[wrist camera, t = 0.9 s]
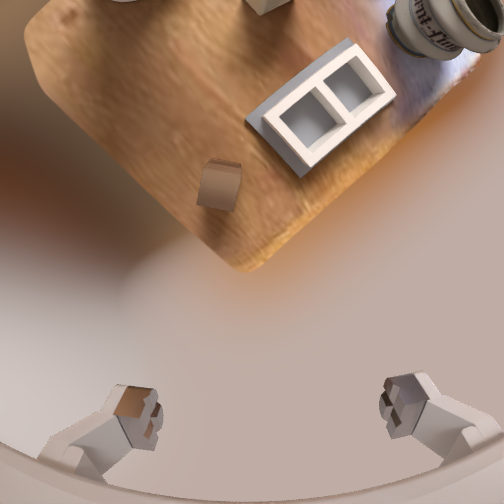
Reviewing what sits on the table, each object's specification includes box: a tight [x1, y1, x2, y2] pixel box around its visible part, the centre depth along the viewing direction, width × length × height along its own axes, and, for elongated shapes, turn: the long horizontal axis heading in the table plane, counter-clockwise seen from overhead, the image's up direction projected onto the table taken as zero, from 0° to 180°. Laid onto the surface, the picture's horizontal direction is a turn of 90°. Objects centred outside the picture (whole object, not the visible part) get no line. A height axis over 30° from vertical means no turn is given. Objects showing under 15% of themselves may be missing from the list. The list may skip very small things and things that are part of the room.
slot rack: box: [245, 37, 396, 178], centre depth 34 cm, size 19×11×5 cm, turn 133°
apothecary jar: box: [386, 0, 504, 61], centre depth 23 cm, size 12×12×18 cm
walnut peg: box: [196, 158, 241, 212], centre depth 36 cm, size 4×4×10 cm
